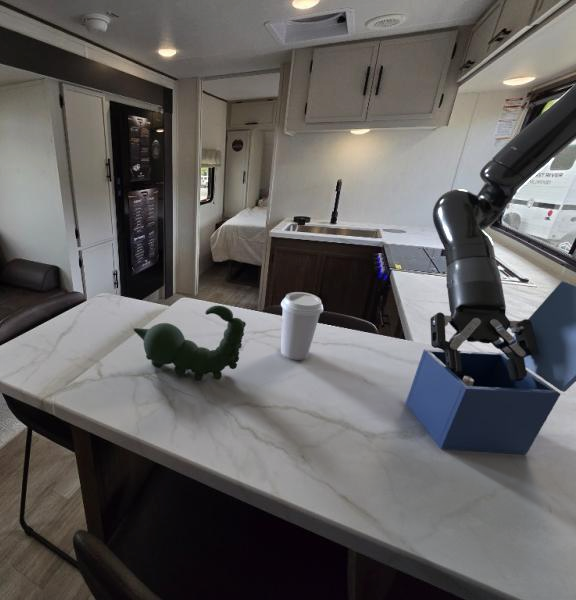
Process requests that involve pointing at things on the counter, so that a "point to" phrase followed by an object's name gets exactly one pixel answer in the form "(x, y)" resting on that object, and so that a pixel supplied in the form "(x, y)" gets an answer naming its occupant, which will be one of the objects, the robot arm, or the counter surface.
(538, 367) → the lid
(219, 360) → the toy figurine
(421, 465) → the counter surface
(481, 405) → the case
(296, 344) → the coffee cup
